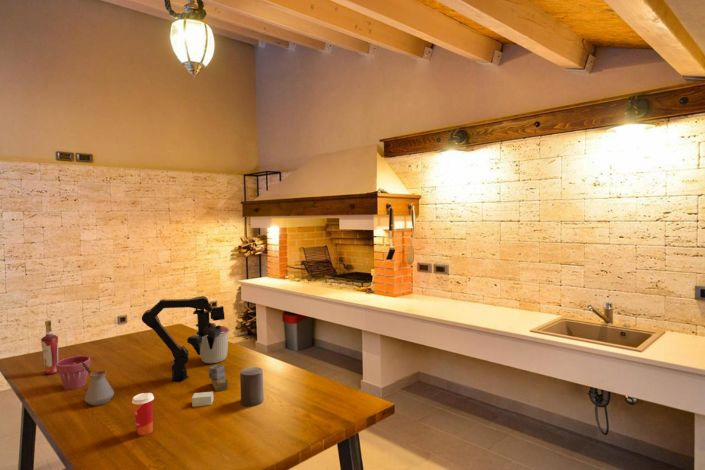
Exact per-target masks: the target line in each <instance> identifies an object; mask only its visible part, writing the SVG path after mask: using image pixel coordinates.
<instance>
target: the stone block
mask: <svg viewBox="0 0 705 470" xmlns="http://www.w3.org/2000/svg"><path fill="white" fill-rule="evenodd" d="M210 380H211V381H210V382H211V384H212V386H213V388H214V390H215V392H221V391H225V390H228V389H229V382H228V379H227V377H226V375H225V376H224V377H222V378H220V379H219V380H215V379H210Z"/></svg>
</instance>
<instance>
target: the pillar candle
mask: <svg viewBox="0 0 705 470" xmlns="http://www.w3.org/2000/svg"><path fill="white" fill-rule="evenodd" d="M263 371H264V369H263V368H261V367H258V366H249V367H245V368H243V369H241V370H240V374H239V376H240V377H239V379H240V381H239V382H240V386H239V387H240V403H241V405H242V406H244V407H255V406H258V405H261V404H262V403H263V402H264V400H265V399H264V372H263Z"/></svg>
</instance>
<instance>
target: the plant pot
mask: <svg viewBox="0 0 705 470" xmlns="http://www.w3.org/2000/svg"><path fill="white" fill-rule="evenodd" d="M82 363H86V366H87V367H88V368H89V369H90V366H91V363H92V362H91V357H90V356H87V355H77V356H71V357H66V358H62V359H60V360H58V362H57V363H56V371H57V373H58V374H59V377H60V380H61V383H62V386H63V389H64V390H67V391H68V390H69V391H70V390H71V391H72V390H76V389H80V388H82V387H84V386H86V384H87V379H88V374H89V372H88V371H87V370H86V369H85V367H83V366H84V365H83V364H82ZM80 365H81V366H80Z"/></svg>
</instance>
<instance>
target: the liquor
mask: <svg viewBox="0 0 705 470" xmlns="http://www.w3.org/2000/svg"><path fill="white" fill-rule="evenodd" d="M44 324H45V336H43V337H42V338H41V339H40V343H41V351H42V355H43V363H44V364H43V366H44V374H46V375H49V374H50V375H54V374H53V373H55V374H57V373H58V372H57V371H56V363H57V362H58V361H59V336H58V335H55V334H54V333H53V329H52V320H51V319H49V320H48V319H47V320H45V321H44ZM56 372H57V373H56Z"/></svg>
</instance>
